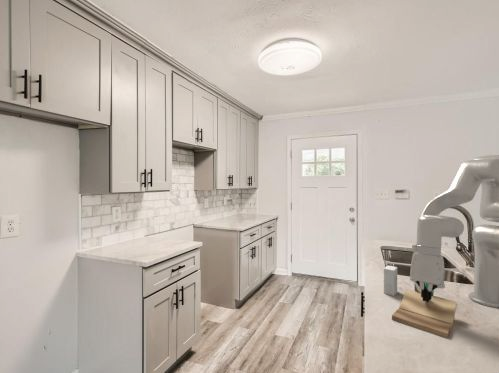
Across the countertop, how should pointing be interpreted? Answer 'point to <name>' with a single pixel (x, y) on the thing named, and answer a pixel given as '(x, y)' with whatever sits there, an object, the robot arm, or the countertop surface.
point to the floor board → (422, 322)
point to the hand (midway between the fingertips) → (426, 300)
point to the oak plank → (429, 307)
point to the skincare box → (390, 280)
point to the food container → (417, 289)
